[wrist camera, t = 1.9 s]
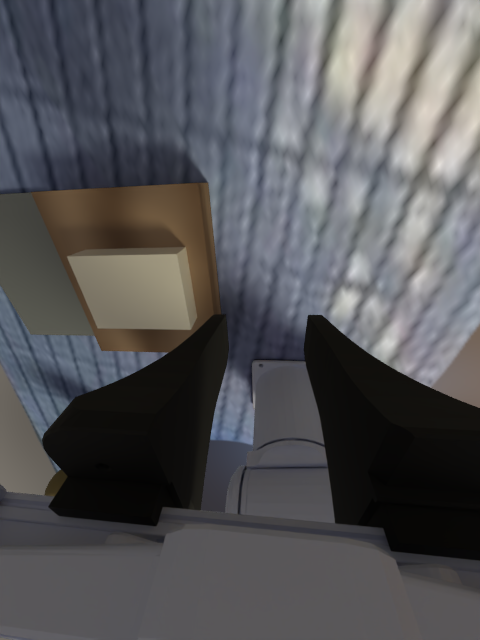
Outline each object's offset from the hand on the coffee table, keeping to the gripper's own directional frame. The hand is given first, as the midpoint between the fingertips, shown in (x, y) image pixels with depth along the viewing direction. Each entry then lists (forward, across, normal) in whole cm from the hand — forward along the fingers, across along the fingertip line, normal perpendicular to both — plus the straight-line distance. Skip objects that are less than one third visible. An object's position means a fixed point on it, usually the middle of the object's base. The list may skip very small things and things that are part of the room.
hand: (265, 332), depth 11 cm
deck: (+10, +10, +1) cm, 15 cm away
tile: (+7, +10, +1) cm, 12 cm away
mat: (+10, +22, +1) cm, 24 cm away
